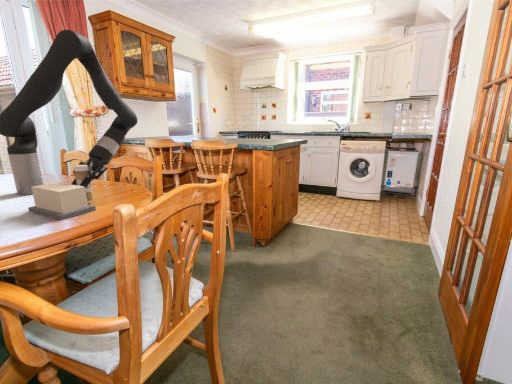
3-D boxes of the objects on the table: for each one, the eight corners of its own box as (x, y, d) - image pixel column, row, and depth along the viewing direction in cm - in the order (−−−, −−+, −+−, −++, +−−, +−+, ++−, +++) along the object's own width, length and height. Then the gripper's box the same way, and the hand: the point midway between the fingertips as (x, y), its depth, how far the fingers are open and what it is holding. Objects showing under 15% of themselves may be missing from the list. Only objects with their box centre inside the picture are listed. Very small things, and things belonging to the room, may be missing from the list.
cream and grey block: (29, 211, 89) (23, 187, 87) (63, 203, 99) (59, 181, 97) (62, 220, 82) (57, 193, 80) (95, 210, 91) (92, 186, 89)
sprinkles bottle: (93, 200, 98) (88, 165, 95) (79, 202, 96) (73, 166, 92) (92, 197, 102) (87, 163, 98) (79, 199, 99) (73, 164, 96)
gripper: (85, 143, 103) (57, 178, 95) (109, 145, 97) (82, 182, 89) (99, 155, 109) (74, 189, 101) (123, 157, 103) (98, 194, 95)
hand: (78, 186), depth 95 cm, fingers closed on sprinkles bottle, 4 cm apart
